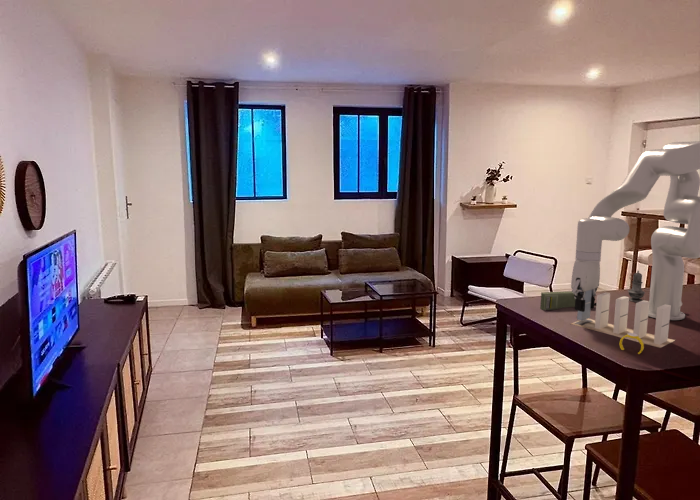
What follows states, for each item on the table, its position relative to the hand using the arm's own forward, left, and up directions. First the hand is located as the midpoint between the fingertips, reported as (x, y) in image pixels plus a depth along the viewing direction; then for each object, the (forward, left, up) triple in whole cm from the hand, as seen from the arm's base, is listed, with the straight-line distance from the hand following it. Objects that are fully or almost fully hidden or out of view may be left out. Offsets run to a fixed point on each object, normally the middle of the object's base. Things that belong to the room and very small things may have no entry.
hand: (584, 308), depth 168 cm
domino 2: (0, +6, -5) cm, 8 cm away
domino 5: (0, +24, -5) cm, 24 cm away
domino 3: (0, +12, -5) cm, 13 cm away
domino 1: (0, 0, -4) cm, 4 cm away
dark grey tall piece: (-43, -3, -6) cm, 44 cm away
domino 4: (0, +18, -5) cm, 19 cm away
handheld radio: (-15, -13, -6) cm, 21 cm away
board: (0, +12, -6) cm, 13 cm away
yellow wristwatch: (+14, +22, -6) cm, 27 cm away
